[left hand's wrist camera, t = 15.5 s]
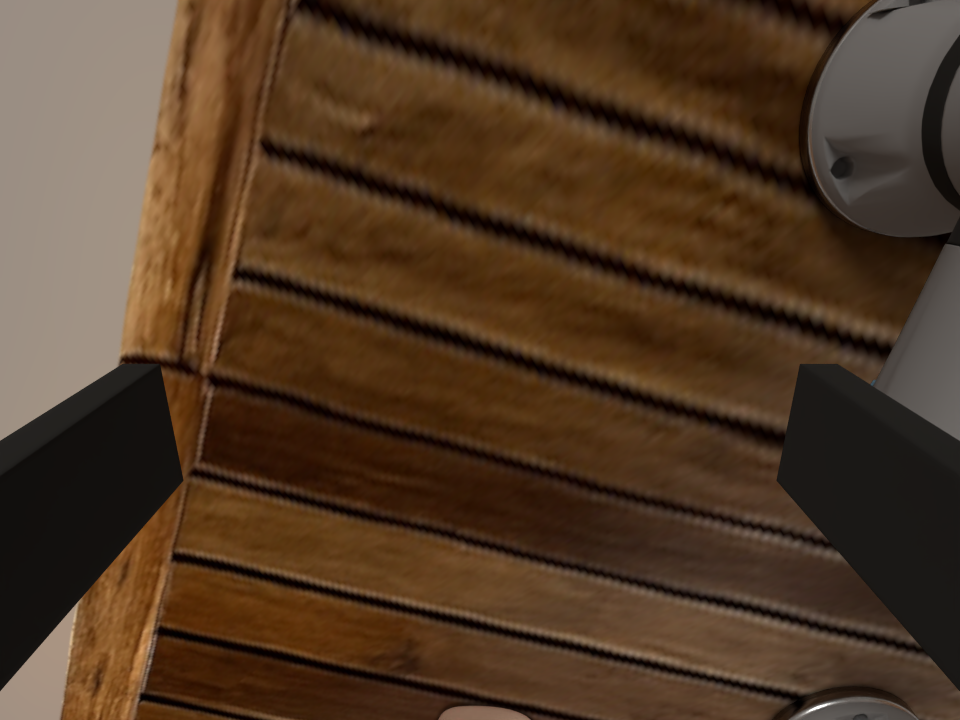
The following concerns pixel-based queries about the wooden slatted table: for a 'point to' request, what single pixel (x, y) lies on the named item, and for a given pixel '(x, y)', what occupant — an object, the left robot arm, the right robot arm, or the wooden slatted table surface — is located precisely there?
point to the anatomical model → (481, 713)
